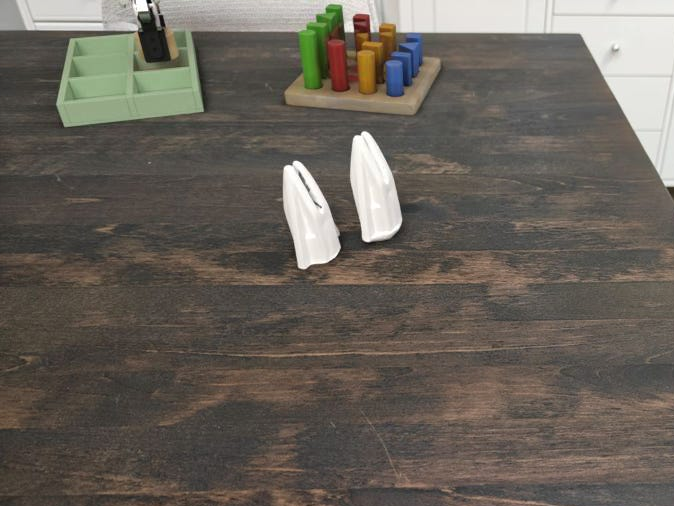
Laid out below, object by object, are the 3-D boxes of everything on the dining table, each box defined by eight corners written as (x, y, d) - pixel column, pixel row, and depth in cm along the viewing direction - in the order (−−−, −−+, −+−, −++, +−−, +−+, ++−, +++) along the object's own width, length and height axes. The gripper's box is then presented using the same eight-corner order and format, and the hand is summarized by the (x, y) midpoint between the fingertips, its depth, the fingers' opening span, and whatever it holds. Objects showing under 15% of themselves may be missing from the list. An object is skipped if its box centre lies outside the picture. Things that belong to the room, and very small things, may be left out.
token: (139, 64, 98) (133, 40, 96) (139, 51, 101) (133, 28, 99) (179, 60, 99) (173, 37, 97) (178, 48, 102) (172, 25, 100)
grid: (65, 129, 91) (56, 104, 89) (77, 60, 108) (69, 38, 106) (204, 113, 95) (199, 89, 93) (195, 50, 112) (190, 28, 110)
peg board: (414, 117, 95) (412, 49, 90) (284, 106, 97) (273, 38, 91) (441, 68, 108) (440, 5, 103) (326, 59, 110) (318, -3, 104)
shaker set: (397, 220, 76) (391, 115, 69) (416, 239, 74) (412, 133, 66) (285, 251, 72) (265, 143, 64) (301, 273, 69) (282, 162, 62)
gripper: (87, -115, 93) (129, 36, 105) (79, -88, 81) (127, 79, 93) (151, -117, 95) (185, 31, 107) (152, -91, 83) (190, 74, 95)
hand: (158, 52), depth 100 cm, fingers closed on token, 5 cm apart
